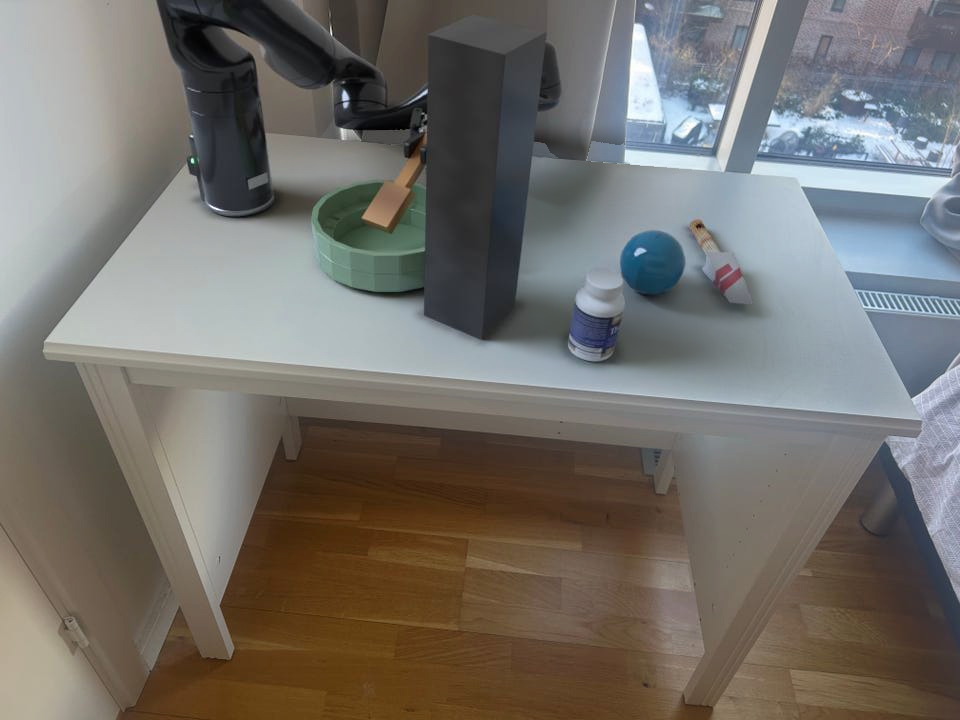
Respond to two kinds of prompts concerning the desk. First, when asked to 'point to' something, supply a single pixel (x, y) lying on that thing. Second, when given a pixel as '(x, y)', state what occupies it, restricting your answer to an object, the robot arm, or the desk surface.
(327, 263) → the bowl
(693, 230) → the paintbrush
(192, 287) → the desk surface
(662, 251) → the ball
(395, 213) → the wooden spatula
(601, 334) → the pill bottle
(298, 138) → the desk surface
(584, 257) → the desk surface
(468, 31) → the pedestal
